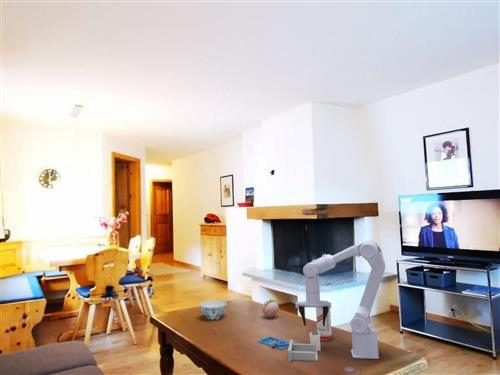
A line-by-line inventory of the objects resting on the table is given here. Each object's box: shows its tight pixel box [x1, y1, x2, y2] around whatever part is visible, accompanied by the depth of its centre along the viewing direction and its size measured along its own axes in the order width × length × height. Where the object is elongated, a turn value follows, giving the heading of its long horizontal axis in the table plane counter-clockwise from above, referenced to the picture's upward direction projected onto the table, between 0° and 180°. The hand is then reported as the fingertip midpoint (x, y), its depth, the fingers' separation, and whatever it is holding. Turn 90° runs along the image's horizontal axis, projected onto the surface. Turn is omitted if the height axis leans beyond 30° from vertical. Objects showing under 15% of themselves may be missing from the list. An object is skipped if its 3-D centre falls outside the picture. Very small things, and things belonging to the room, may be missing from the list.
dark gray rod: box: [270, 342, 297, 349], centre depth 152 cm, size 10×1×1 cm, turn 100°
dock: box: [287, 339, 318, 363], centre depth 141 cm, size 11×12×4 cm
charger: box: [309, 331, 322, 352], centre depth 149 cm, size 4×4×6 cm
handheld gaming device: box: [257, 335, 290, 351], centre depth 156 cm, size 8×1×15 cm
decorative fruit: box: [261, 299, 280, 319], centre depth 195 cm, size 9×8×10 cm
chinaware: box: [199, 300, 228, 321], centre depth 198 cm, size 15×15×8 cm
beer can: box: [315, 300, 333, 342], centre depth 160 cm, size 6×6×16 cm
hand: (314, 325), depth 149 cm, fingers open, 7 cm apart
